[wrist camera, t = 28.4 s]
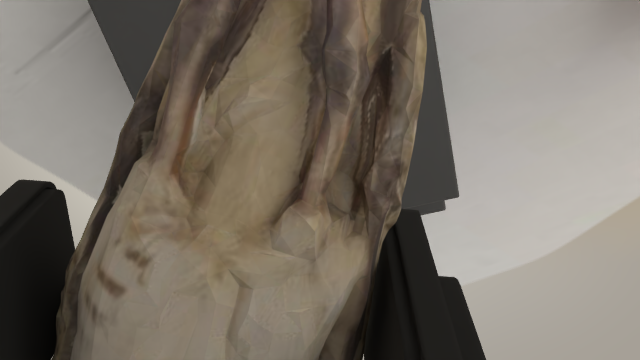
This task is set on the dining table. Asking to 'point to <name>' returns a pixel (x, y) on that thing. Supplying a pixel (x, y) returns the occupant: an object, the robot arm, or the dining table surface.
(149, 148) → the bird model
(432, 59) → the dark grey box
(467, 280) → the dining table surface
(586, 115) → the dining table surface
